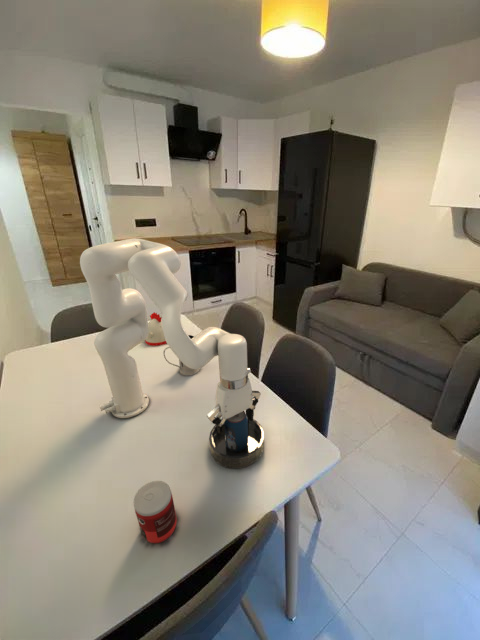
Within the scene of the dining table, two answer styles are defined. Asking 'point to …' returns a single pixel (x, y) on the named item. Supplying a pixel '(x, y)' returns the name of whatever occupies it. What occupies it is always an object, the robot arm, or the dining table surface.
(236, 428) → the soda can
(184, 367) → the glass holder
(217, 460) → the bowl
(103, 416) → the dining table surface
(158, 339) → the kitchen timer
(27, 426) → the dining table surface
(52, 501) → the dining table surface
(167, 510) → the canned food
